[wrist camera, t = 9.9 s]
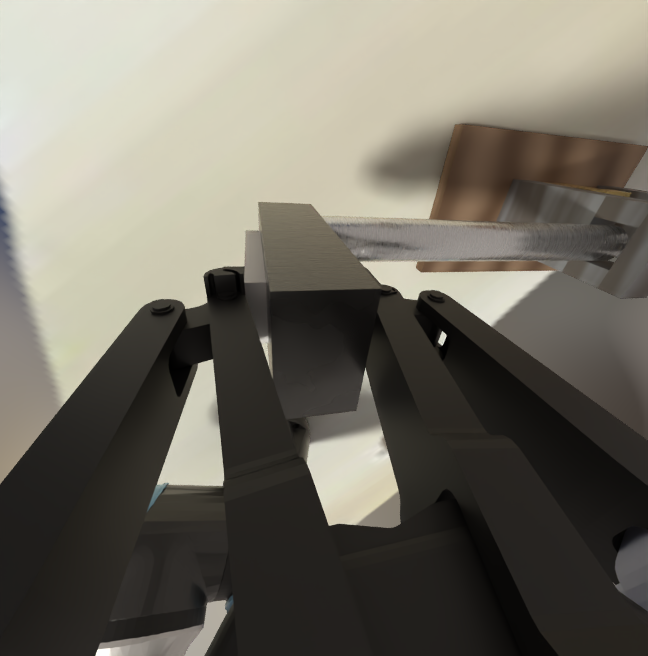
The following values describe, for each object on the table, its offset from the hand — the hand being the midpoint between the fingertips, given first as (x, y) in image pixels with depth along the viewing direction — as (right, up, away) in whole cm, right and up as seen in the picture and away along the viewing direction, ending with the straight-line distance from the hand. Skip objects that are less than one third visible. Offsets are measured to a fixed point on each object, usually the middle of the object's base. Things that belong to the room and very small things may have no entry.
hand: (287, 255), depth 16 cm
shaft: (+12, +3, +7) cm, 14 cm away
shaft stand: (+28, +11, +21) cm, 37 cm away
